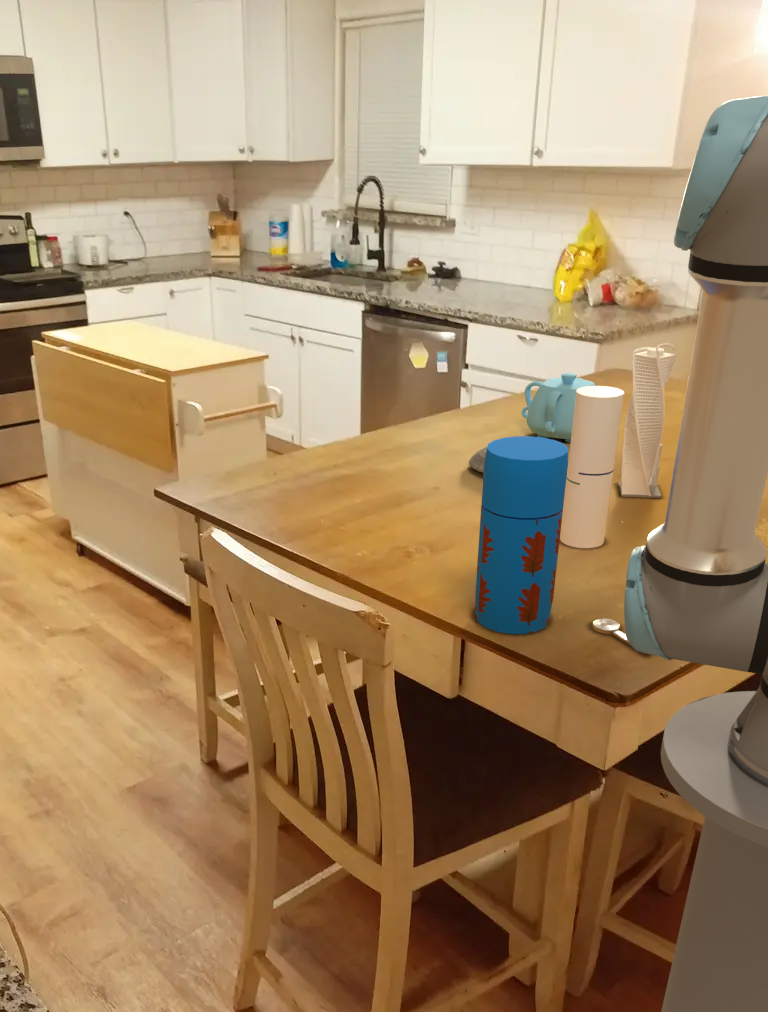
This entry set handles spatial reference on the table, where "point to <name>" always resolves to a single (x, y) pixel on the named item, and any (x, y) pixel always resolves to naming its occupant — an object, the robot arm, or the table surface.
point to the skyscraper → (645, 422)
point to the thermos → (519, 532)
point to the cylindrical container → (591, 465)
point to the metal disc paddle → (610, 628)
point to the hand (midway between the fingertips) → (722, 444)
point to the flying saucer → (478, 460)
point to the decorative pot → (553, 406)
